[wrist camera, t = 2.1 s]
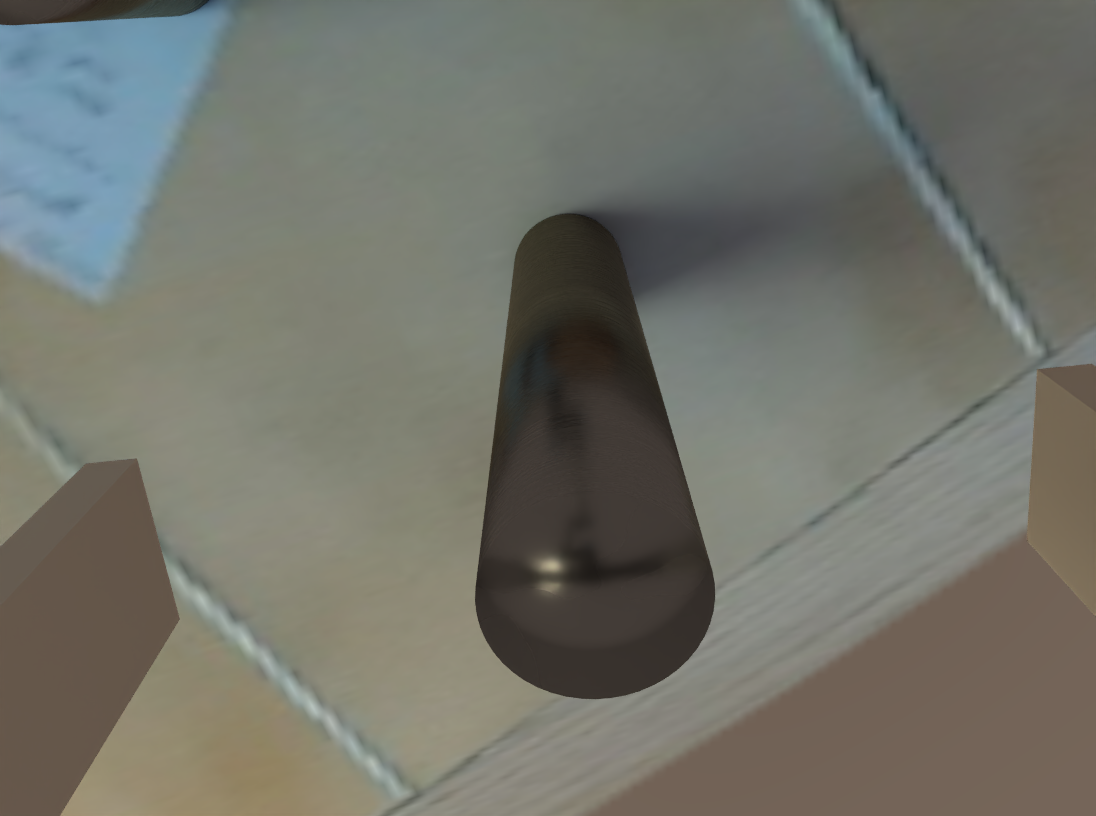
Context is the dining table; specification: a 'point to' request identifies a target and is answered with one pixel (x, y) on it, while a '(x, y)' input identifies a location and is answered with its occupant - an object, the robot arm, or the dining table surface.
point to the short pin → (90, 10)
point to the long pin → (586, 484)
